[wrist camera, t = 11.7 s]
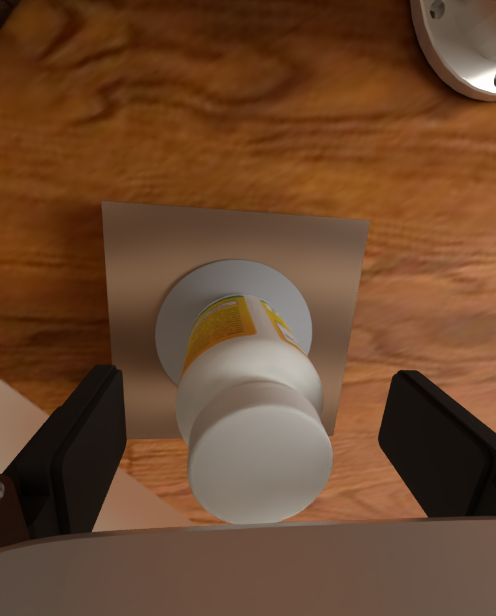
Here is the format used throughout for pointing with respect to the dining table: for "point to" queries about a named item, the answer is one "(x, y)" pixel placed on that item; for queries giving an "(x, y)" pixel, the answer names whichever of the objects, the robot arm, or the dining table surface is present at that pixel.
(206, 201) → the dining table surface
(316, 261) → the walnut plinth
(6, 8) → the pepper mill
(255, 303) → the supplement bottle
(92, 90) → the dining table surface
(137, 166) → the dining table surface
